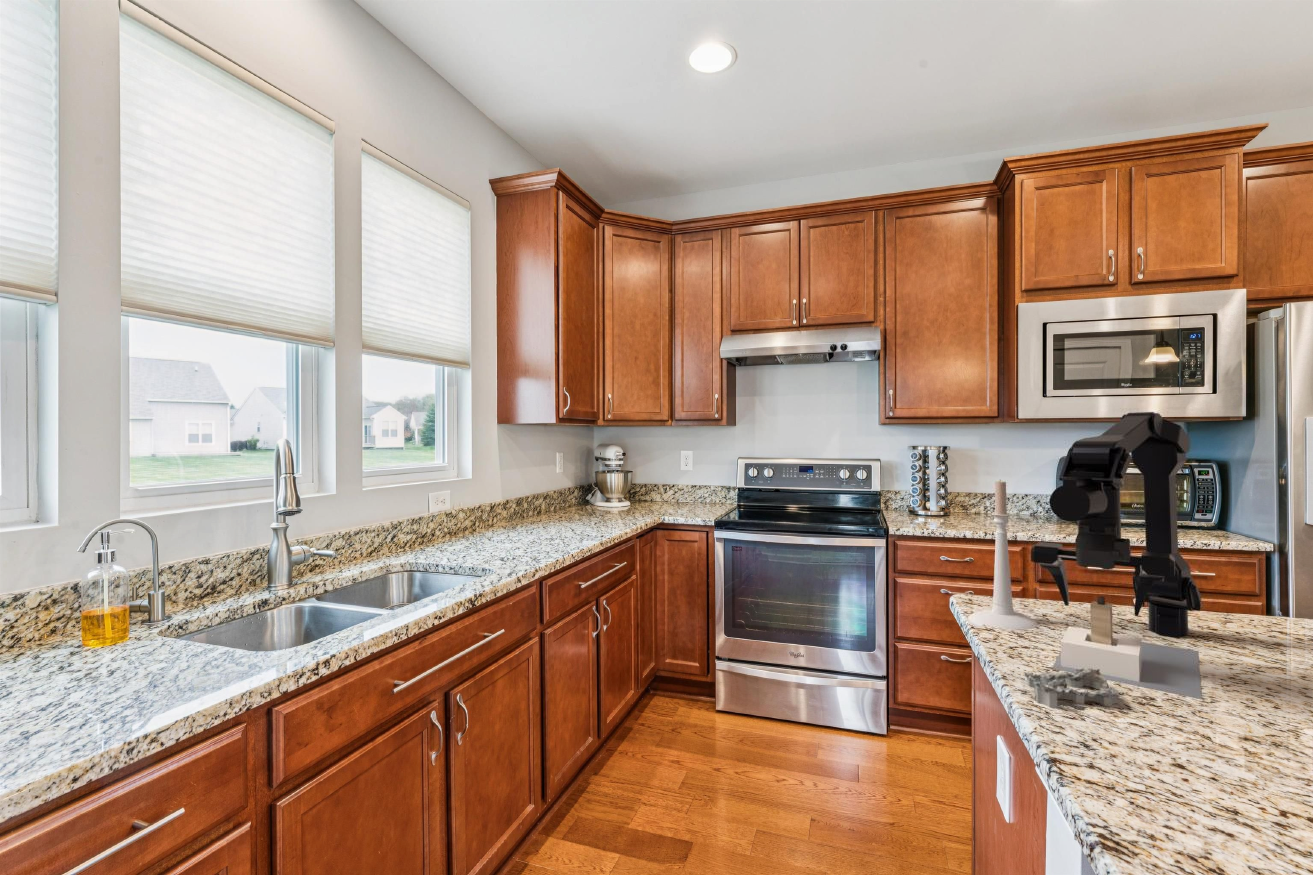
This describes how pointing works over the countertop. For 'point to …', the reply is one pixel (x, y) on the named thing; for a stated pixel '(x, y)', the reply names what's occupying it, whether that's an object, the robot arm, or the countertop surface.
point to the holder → (1102, 654)
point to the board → (1162, 670)
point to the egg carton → (1076, 680)
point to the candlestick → (1001, 577)
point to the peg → (1101, 621)
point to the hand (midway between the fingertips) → (1100, 610)
